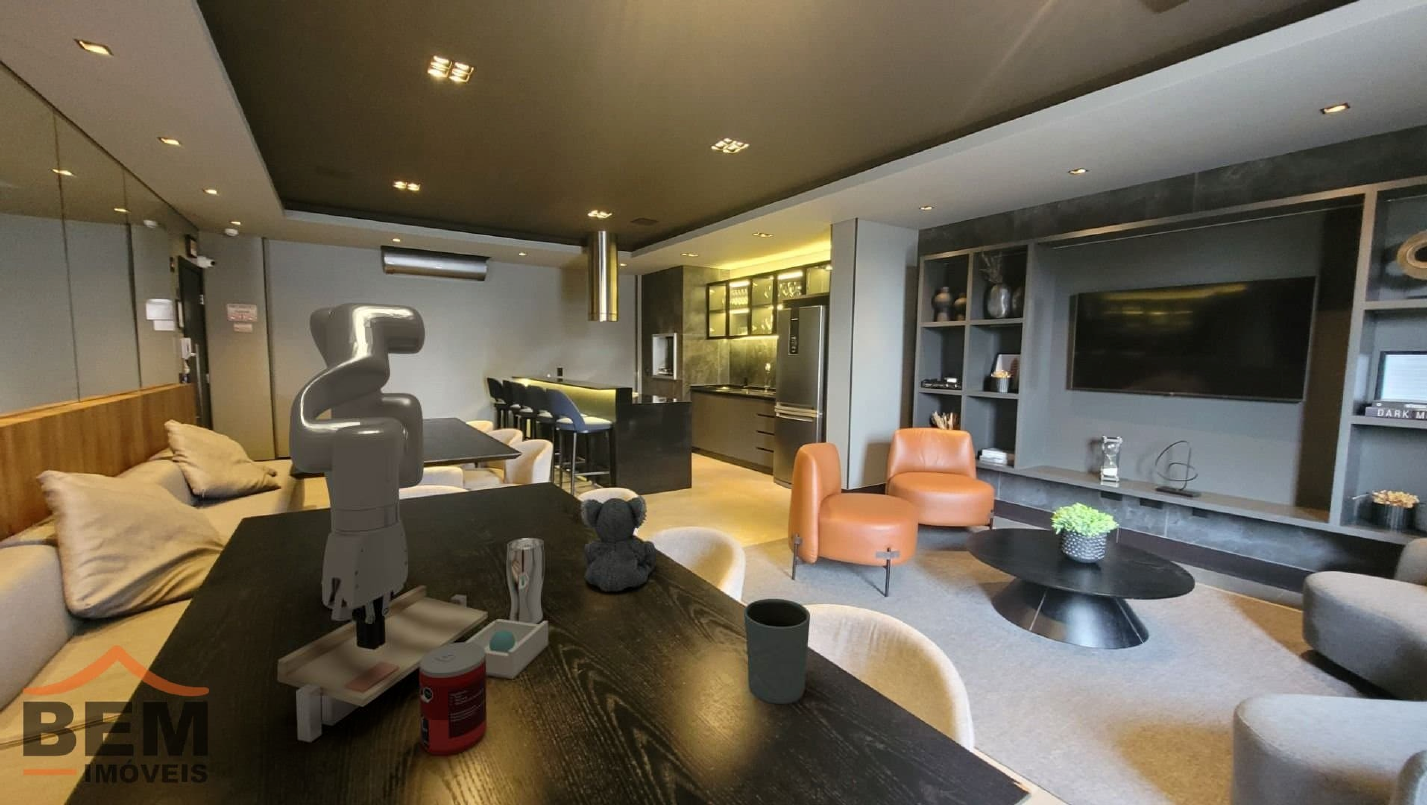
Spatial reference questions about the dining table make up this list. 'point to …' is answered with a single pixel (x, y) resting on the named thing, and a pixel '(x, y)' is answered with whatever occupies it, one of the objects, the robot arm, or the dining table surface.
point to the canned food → (452, 697)
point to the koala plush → (617, 544)
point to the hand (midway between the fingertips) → (371, 645)
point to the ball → (502, 641)
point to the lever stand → (327, 704)
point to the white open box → (524, 651)
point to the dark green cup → (776, 649)
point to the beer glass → (525, 578)
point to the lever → (378, 649)
